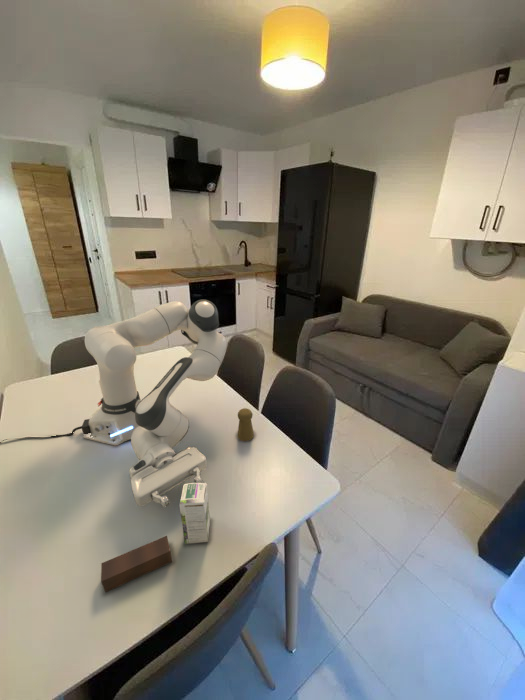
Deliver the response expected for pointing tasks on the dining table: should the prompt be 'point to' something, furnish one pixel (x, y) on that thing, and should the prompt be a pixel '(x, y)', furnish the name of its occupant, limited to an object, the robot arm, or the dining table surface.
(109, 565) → the walnut block
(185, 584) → the dining table surface
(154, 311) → the robot arm
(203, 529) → the syrup box
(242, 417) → the olive brown hourglass shape
